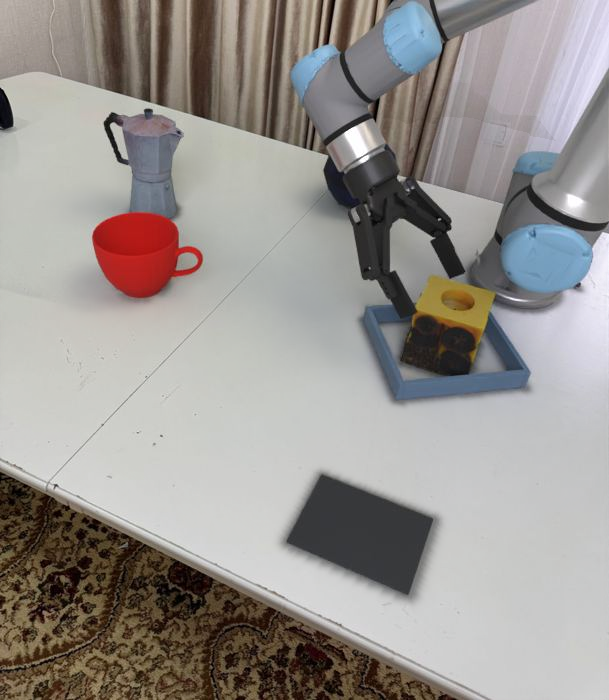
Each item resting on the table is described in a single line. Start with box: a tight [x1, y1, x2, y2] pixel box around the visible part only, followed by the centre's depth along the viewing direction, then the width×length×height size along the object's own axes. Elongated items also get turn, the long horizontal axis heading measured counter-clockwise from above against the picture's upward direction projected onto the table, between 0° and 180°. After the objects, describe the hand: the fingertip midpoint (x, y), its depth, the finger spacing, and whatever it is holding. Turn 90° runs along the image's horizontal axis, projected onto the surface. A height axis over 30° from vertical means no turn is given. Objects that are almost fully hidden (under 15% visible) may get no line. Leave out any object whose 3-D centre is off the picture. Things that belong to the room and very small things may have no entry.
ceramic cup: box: [91, 212, 204, 299], centre depth 98 cm, size 13×17×10 cm
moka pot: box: [102, 107, 185, 220], centre depth 113 cm, size 10×15×20 cm, turn 78°
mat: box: [286, 474, 434, 596], centre depth 70 cm, size 14×10×1 cm
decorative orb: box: [322, 142, 399, 210], centre depth 123 cm, size 14×15×15 cm
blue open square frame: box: [362, 302, 532, 401], centre depth 93 cm, size 20×18×3 cm
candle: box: [399, 274, 495, 377], centre depth 91 cm, size 10×10×10 cm
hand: (434, 294), depth 89 cm, fingers open, 13 cm apart
